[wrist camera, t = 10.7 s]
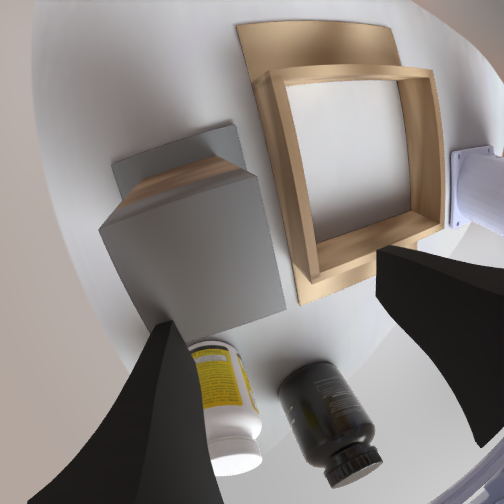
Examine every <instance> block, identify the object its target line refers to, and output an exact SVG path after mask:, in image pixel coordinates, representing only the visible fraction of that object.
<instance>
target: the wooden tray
mask: <svg viewBox="0 0 504 504" xmlns="http://www.w3.org/2000/svg"><path fill="white" fill-rule="evenodd" d="M236 29H237V33H238V36H239V39H240V43H241V47H242V50H243V54H244V57H245V61H246V65H247V68H248V72H249V76H250V80H251V83H252V87H253V91H254V95H255V99H256V103H257V107H258V111H259V115H260V119H261V123H262V127H263V131H264V135H265V139H266V144H267V148H268V152H269V157H270V161H271V165H272V170H273V174H274V179H275V183H276V188H277V193H278V197H279V202H280V207H281V211H282V216H283V221H284V226H285V231H286V236H287V241H288V246H289V251H290V256H291V262H292V267H293V272H294V278H295V283H296V289H297V294H298V300H299V304H300V306H302V305H305V304H307V303H310V302H312V301H315V300H317V299H320V298H322V297H325V296H327V295H330V294H332V293H335V292H337V291H340V290H342V289H345V288H347V287H349V286H352V285H354V284H356V283H359V282H361V281H363V280H366V279H368V278H370V277H372V276H375V275H376V250H377V249H380V248H383V247H385V246H388V245H394V246H400V247H405V248H409V249H413V250H417V241H419V240H421V239H423V238H425V237H427V236H429V235H432V234H434V233H436V232H438V231H440V230H442V229H444V220H445V157H444V143H443V132H442V123H441V115H440V108H439V101H438V95H437V89H436V84H435V79H434V74H433V70H428V69H421V68H412V67H402V66H401V62H400V58H399V55H398V51H397V47H396V44H395V40H394V37H393V34H392V30H391V28H386V27H380V26H373V25H365V24H357V23H346V22H330V21H281V22H266V23H255V24H246V25H238V26H236ZM352 80H397V83H398V87H399V92H400V98H401V103H402V109H403V115H404V122H405V129H406V137H407V146H408V156H409V169H410V186H411V211H409V212H406V213H403V214H400V215H397V216H395V217H392V218H389V219H386V220H383V221H381V222H378V223H375V224H372V225H369V226H366V227H364V228H361V229H358V230H355V231H352V232H349V233H346V234H344V235H341V236H338V237H335V238H332V239H329V240H326V241H323V242H320V243H318V244H316V242H315V235H314V228H313V222H312V215H311V209H310V203H309V197H308V192H307V186H306V181H305V175H304V170H303V165H302V160H301V155H300V150H299V145H298V140H297V135H296V131H295V126H294V122H293V117H292V113H291V109H290V104H289V100H288V96H287V92H286V88H285V86H293V85H301V84H310V83H320V82H333V81H352Z"/></svg>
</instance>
